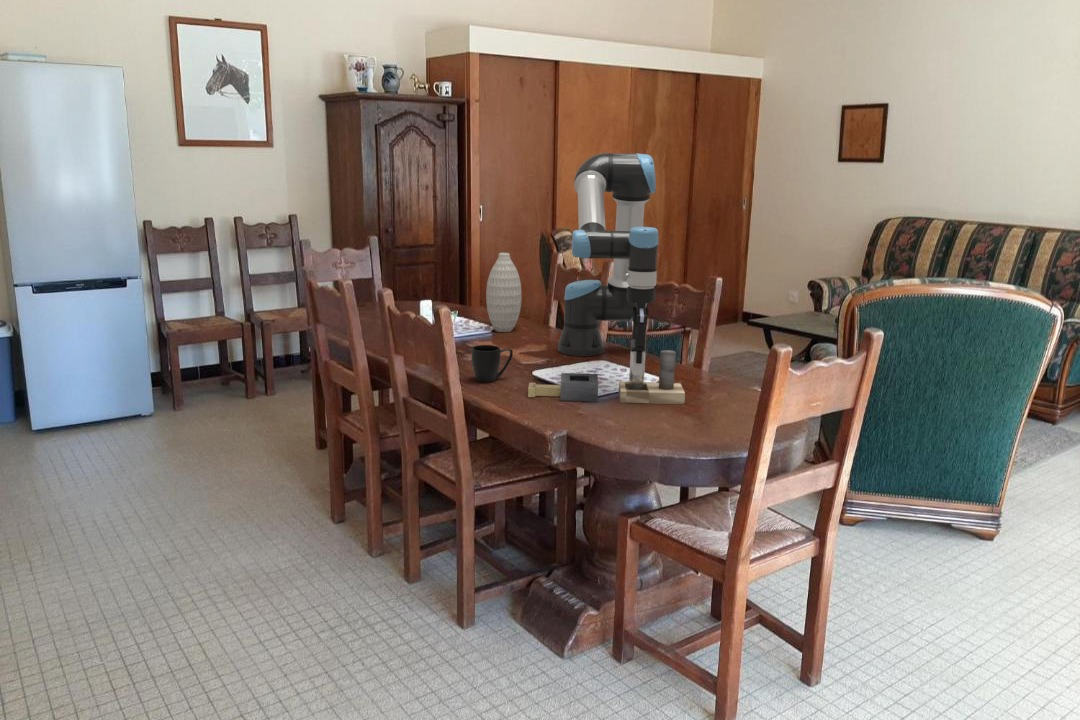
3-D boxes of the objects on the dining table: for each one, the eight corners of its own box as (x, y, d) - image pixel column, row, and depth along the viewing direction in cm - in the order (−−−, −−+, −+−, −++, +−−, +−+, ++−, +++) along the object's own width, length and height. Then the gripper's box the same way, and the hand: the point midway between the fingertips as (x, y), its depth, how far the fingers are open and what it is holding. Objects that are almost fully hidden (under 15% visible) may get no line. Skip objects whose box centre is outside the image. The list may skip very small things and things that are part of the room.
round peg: (642, 392, 235) (645, 338, 231) (643, 396, 231) (646, 342, 228) (628, 391, 235) (630, 338, 232) (629, 395, 231) (631, 341, 228)
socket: (560, 390, 239) (561, 372, 238) (596, 391, 239) (597, 373, 237) (560, 400, 229) (560, 382, 228) (597, 401, 229) (598, 383, 228)
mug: (515, 382, 246) (516, 350, 244) (474, 384, 243) (474, 352, 240) (508, 374, 254) (509, 343, 251) (469, 377, 250) (469, 345, 248)
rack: (618, 391, 238) (620, 346, 235) (679, 393, 238) (682, 348, 235) (620, 402, 229) (622, 355, 226) (684, 404, 228) (687, 356, 225)
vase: (506, 325, 322) (507, 250, 315) (528, 331, 313) (529, 254, 306) (479, 329, 314) (479, 252, 307) (500, 335, 305) (500, 256, 298)
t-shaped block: (529, 391, 237) (529, 382, 237) (568, 392, 237) (569, 383, 236) (528, 397, 231) (528, 388, 231) (568, 398, 231) (569, 389, 231)
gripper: (625, 281, 234) (621, 364, 240) (629, 291, 218) (625, 380, 224) (652, 281, 234) (648, 364, 240) (658, 292, 218) (654, 381, 223)
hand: (637, 372), depth 232 cm, fingers closed on round peg, 4 cm apart
